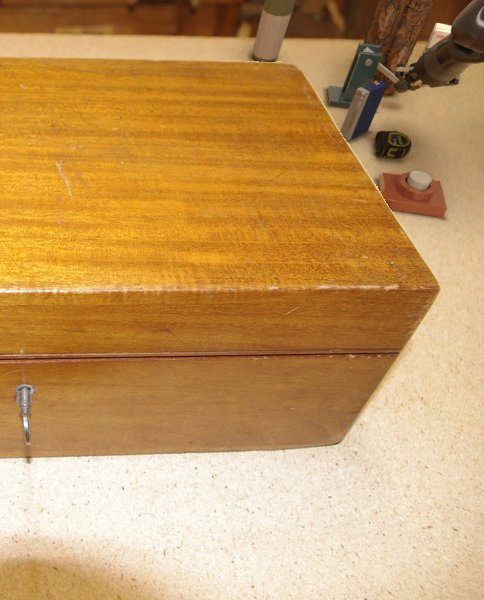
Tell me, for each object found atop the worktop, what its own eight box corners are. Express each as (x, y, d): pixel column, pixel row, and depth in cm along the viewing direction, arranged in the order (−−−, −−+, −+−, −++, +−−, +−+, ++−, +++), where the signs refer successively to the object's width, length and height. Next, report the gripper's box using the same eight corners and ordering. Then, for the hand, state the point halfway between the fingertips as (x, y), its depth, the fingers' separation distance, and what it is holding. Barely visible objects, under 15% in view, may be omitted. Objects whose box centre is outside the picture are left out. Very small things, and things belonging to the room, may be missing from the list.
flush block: (435, 189, 142) (444, 173, 139) (442, 217, 136) (451, 201, 133) (378, 180, 143) (386, 164, 140) (383, 208, 137) (391, 192, 134)
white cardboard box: (452, 75, 173) (475, 29, 164) (450, 84, 170) (474, 38, 161) (415, 66, 175) (436, 21, 167) (413, 76, 172) (434, 30, 164)
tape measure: (371, 141, 153) (378, 126, 150) (404, 146, 152) (412, 132, 149) (373, 159, 148) (379, 144, 146) (407, 165, 147) (414, 150, 144)
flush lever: (399, 91, 162) (413, 79, 159) (401, 99, 159) (415, 87, 157) (355, 55, 158) (369, 43, 156) (356, 62, 156) (370, 50, 153)
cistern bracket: (371, 95, 166) (392, 44, 156) (373, 111, 161) (396, 59, 152) (327, 89, 167) (346, 38, 158) (328, 105, 163) (348, 53, 153)
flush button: (426, 179, 138) (430, 172, 137) (429, 192, 135) (433, 184, 134) (405, 176, 139) (408, 169, 137) (407, 188, 136) (411, 181, 135)
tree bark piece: (395, 96, 166) (442, -10, 147) (372, 94, 166) (416, -12, 148) (378, 61, 177) (420, -41, 159) (356, 60, 177) (395, -43, 159)
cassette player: (359, 127, 157) (379, 78, 148) (367, 132, 155) (388, 83, 147) (336, 136, 154) (356, 87, 145) (345, 142, 153) (365, 92, 144)
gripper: (485, 45, 134) (446, 72, 151) (413, 36, 136) (382, 64, 153) (477, 84, 135) (439, 107, 152) (405, 75, 137) (376, 98, 154)
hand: (411, 85), depth 152 cm, fingers closed
